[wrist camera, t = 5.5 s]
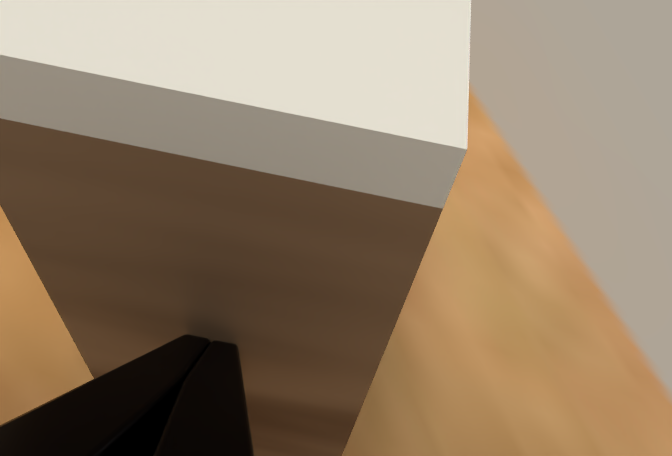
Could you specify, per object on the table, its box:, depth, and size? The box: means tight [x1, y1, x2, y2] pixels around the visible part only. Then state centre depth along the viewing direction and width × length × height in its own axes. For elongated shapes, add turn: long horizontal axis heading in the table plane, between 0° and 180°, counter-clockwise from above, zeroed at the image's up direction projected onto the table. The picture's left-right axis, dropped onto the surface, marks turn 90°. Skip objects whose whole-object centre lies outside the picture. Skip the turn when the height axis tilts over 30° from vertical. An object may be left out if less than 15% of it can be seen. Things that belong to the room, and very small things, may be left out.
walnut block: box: [0, 0, 471, 456], centre depth 11 cm, size 5×5×12 cm
